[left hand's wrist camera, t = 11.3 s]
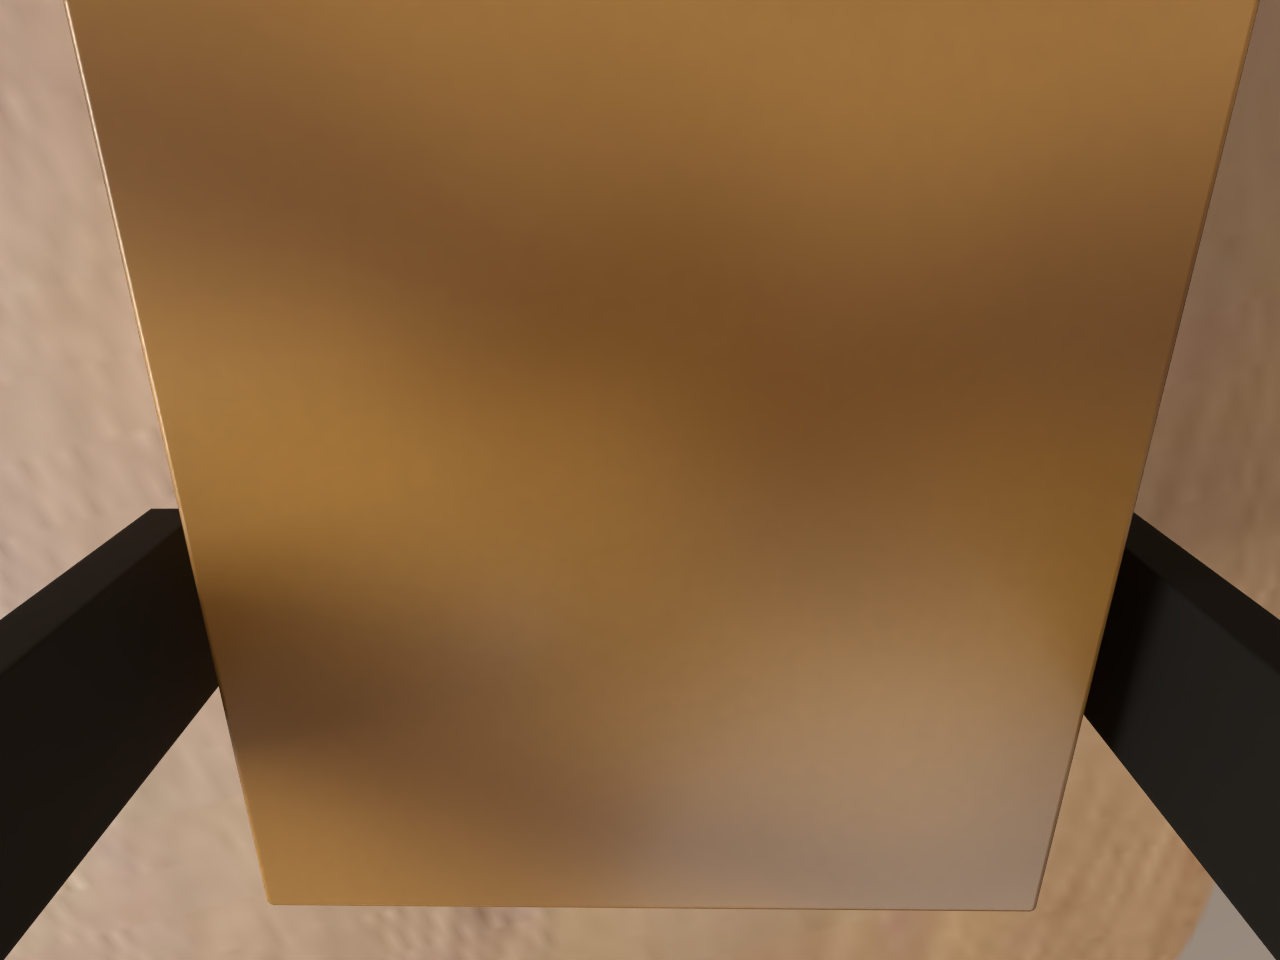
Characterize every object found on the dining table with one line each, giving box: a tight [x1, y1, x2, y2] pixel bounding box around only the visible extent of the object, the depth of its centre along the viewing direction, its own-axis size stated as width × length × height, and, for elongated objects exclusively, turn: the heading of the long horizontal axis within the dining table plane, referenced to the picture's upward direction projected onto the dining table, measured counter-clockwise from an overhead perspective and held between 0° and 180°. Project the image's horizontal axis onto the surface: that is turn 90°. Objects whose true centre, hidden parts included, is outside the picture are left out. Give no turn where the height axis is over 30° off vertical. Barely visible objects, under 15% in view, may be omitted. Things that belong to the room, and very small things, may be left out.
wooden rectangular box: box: [63, 0, 1260, 911], centre depth 12 cm, size 19×11×9 cm, turn 0°
